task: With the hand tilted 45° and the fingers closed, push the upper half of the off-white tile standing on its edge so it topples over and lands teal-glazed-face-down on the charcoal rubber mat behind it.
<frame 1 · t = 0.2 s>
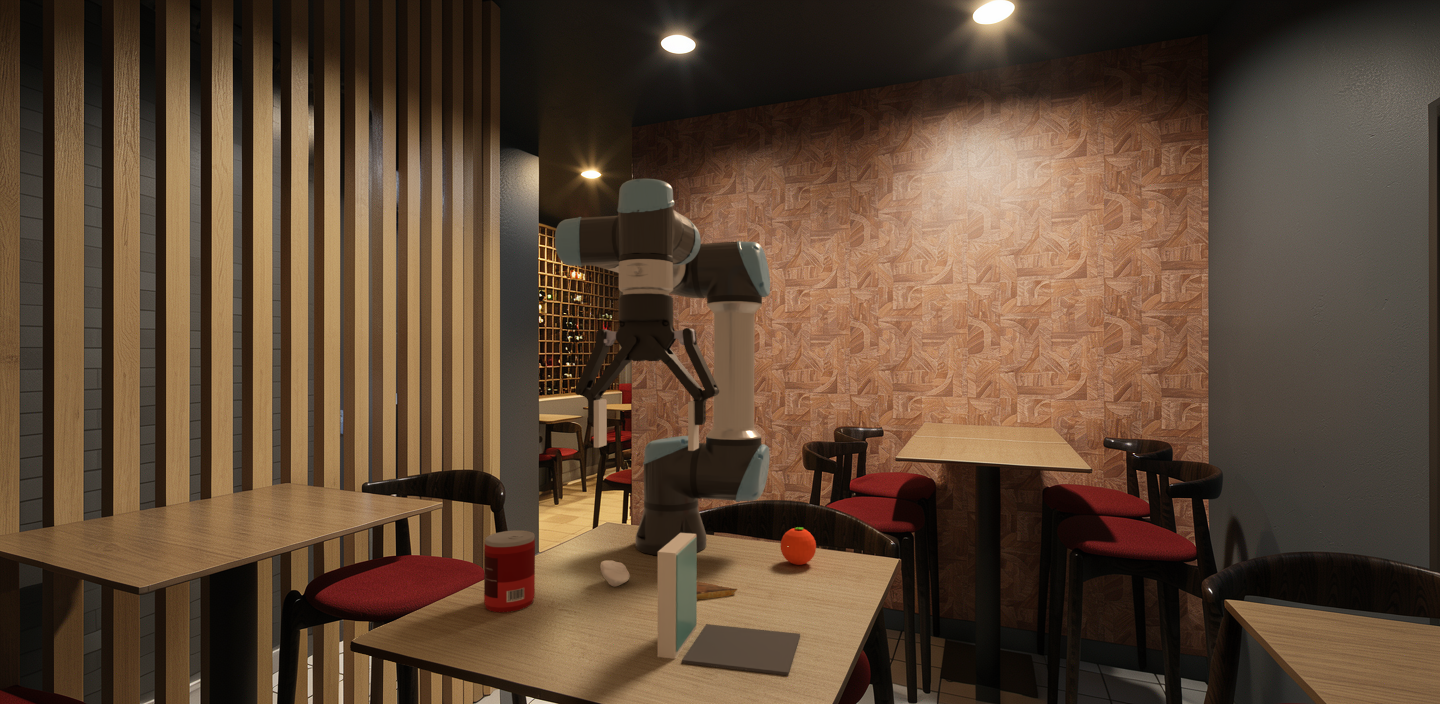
hand: (646, 448, 90), 28 cm above the table, tool pointing down, fingers open, 13 cm apart
glazed tile: (677, 642, 92), on the table
rubber mat: (743, 649, 89), on the table
canned food: (509, 605, 106), on the table
dumpling: (615, 585, 115), on the table
shard: (696, 595, 112), on the table
clementine: (798, 564, 127), on the table
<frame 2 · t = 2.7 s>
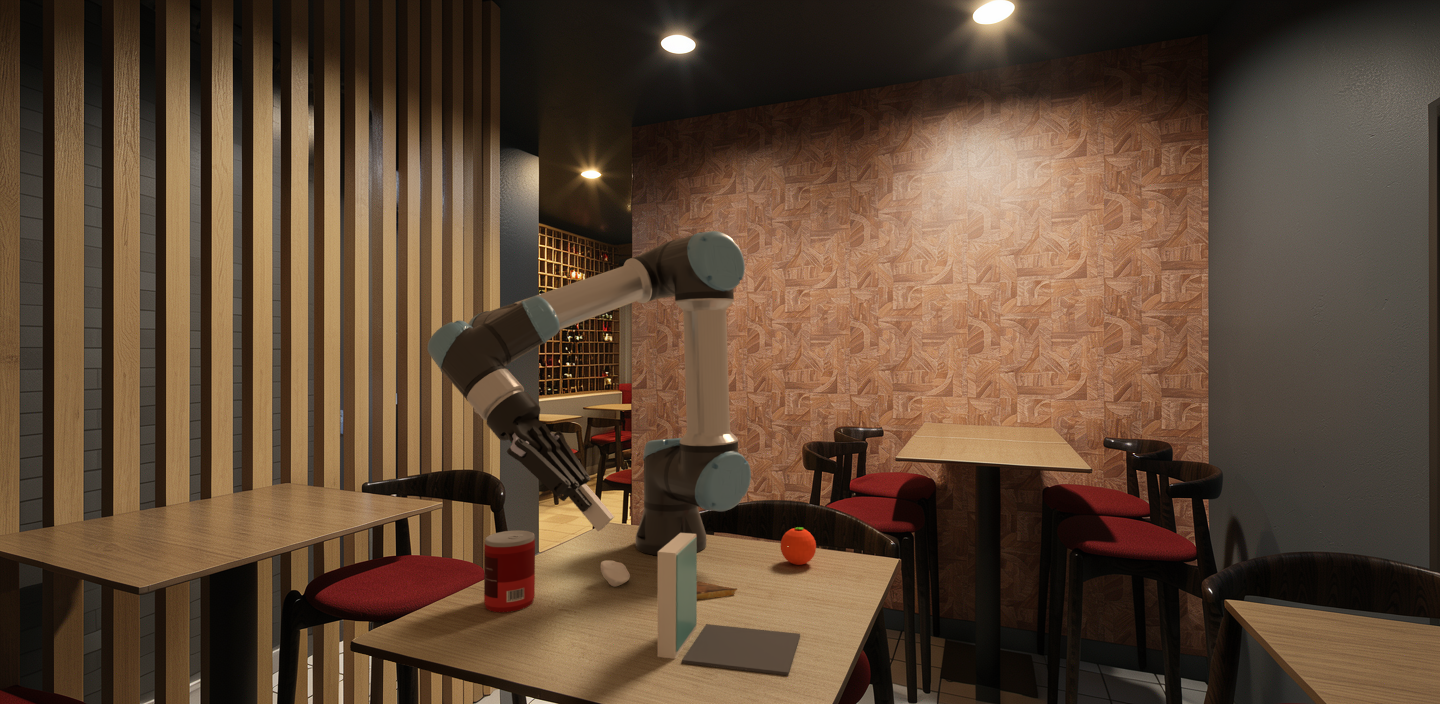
hand: (606, 524, 94), 16 cm above the table, tool tilted 45°, fingers closed
nothing on the table moved.
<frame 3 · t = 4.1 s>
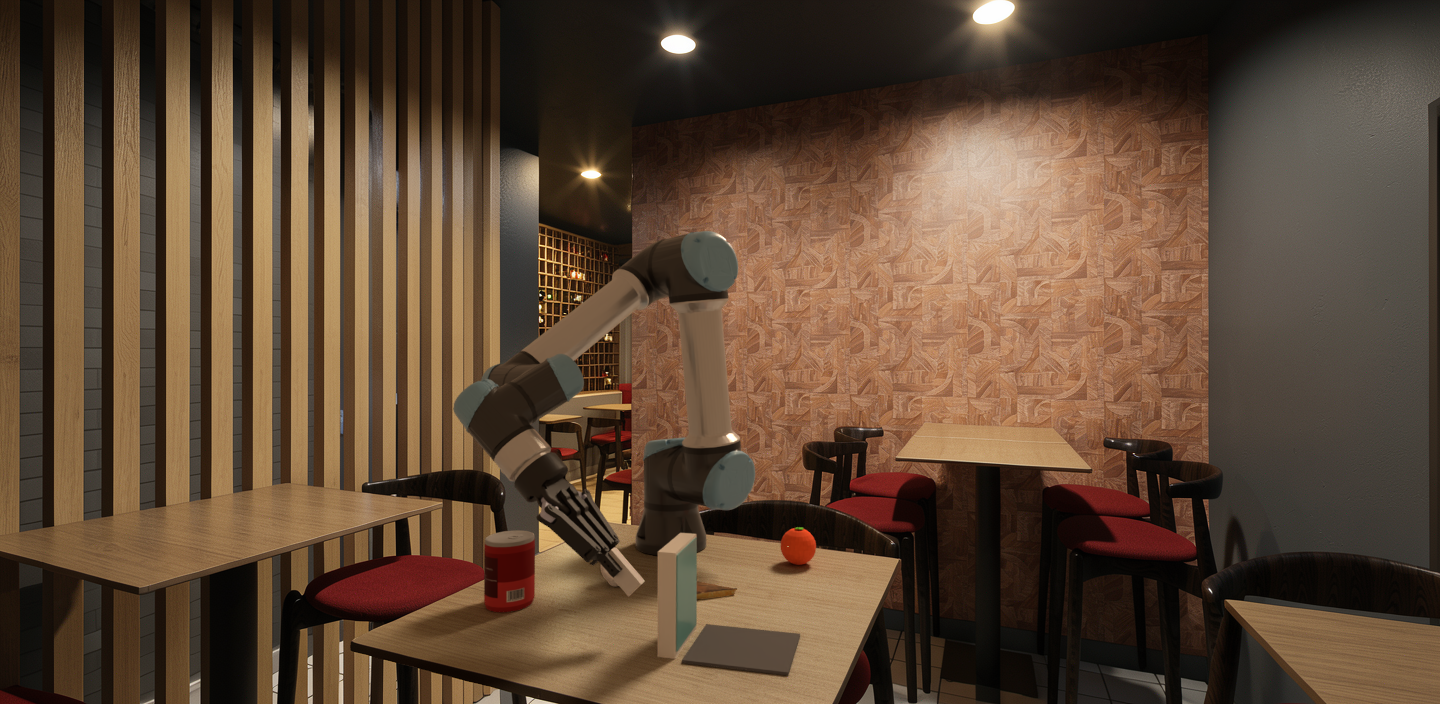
hand: (636, 588, 93), 7 cm above the table, tool tilted 45°, fingers closed
nothing on the table moved.
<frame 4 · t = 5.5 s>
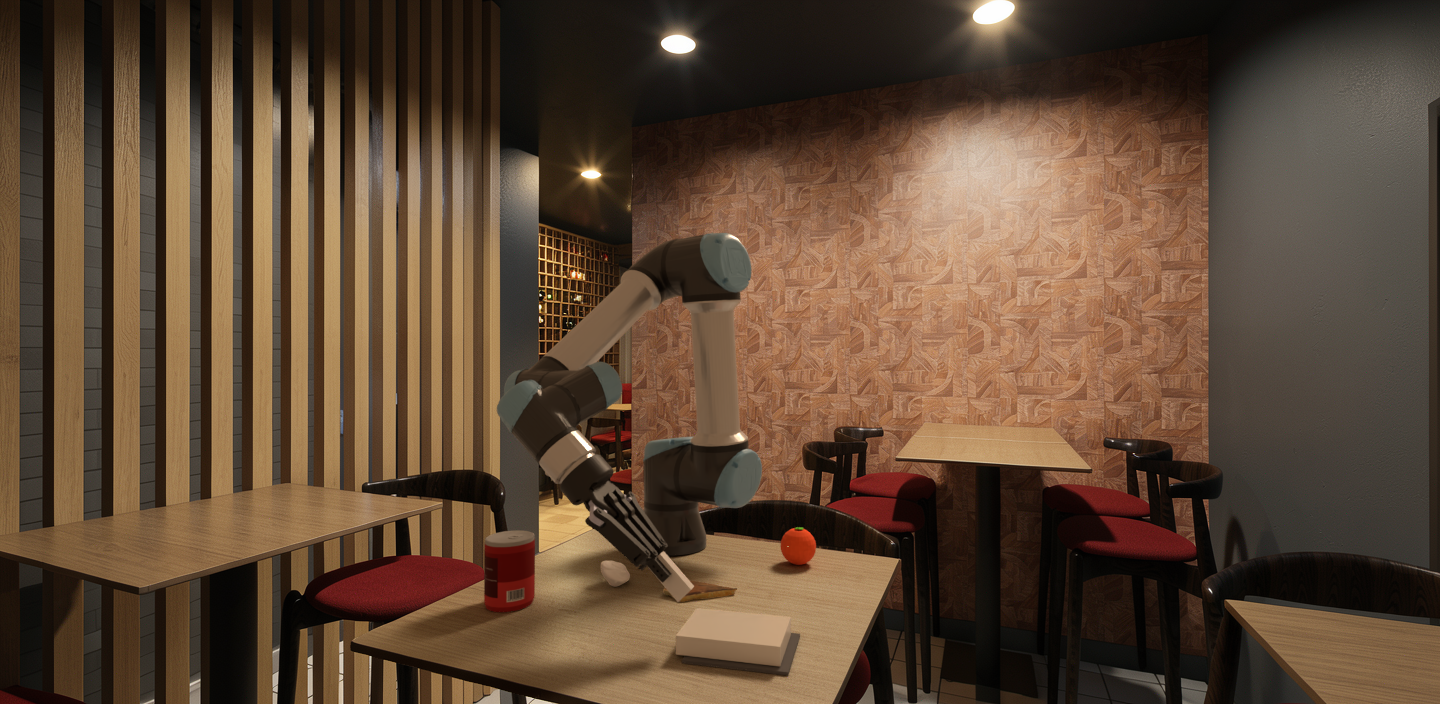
hand: (686, 594, 91), 7 cm above the table, tool tilted 45°, fingers closed
glazed tile: (686, 629, 91), point 2 cm above the table, tilted 90°, touching rubber mat
everything else where it was.
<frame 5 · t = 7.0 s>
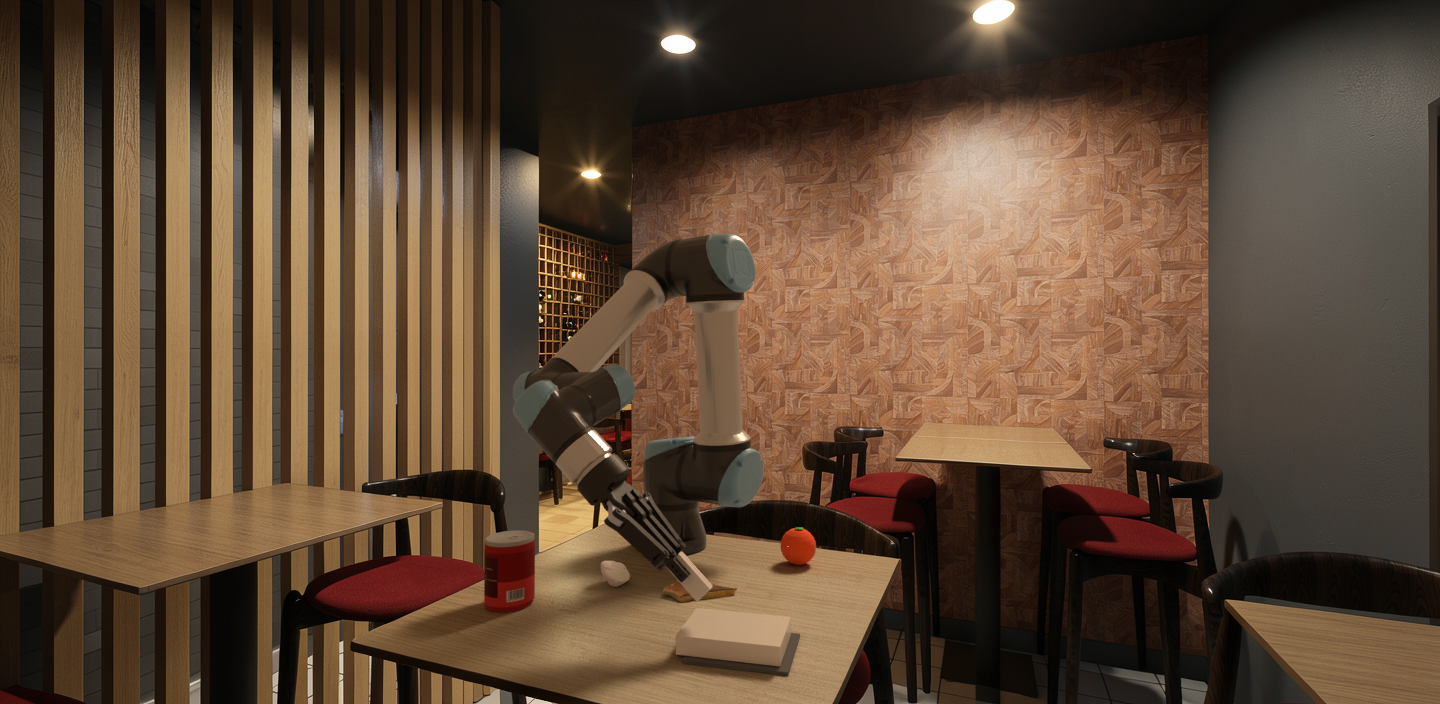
hand: (704, 594, 91), 7 cm above the table, tool tilted 45°, fingers closed
nothing on the table moved.
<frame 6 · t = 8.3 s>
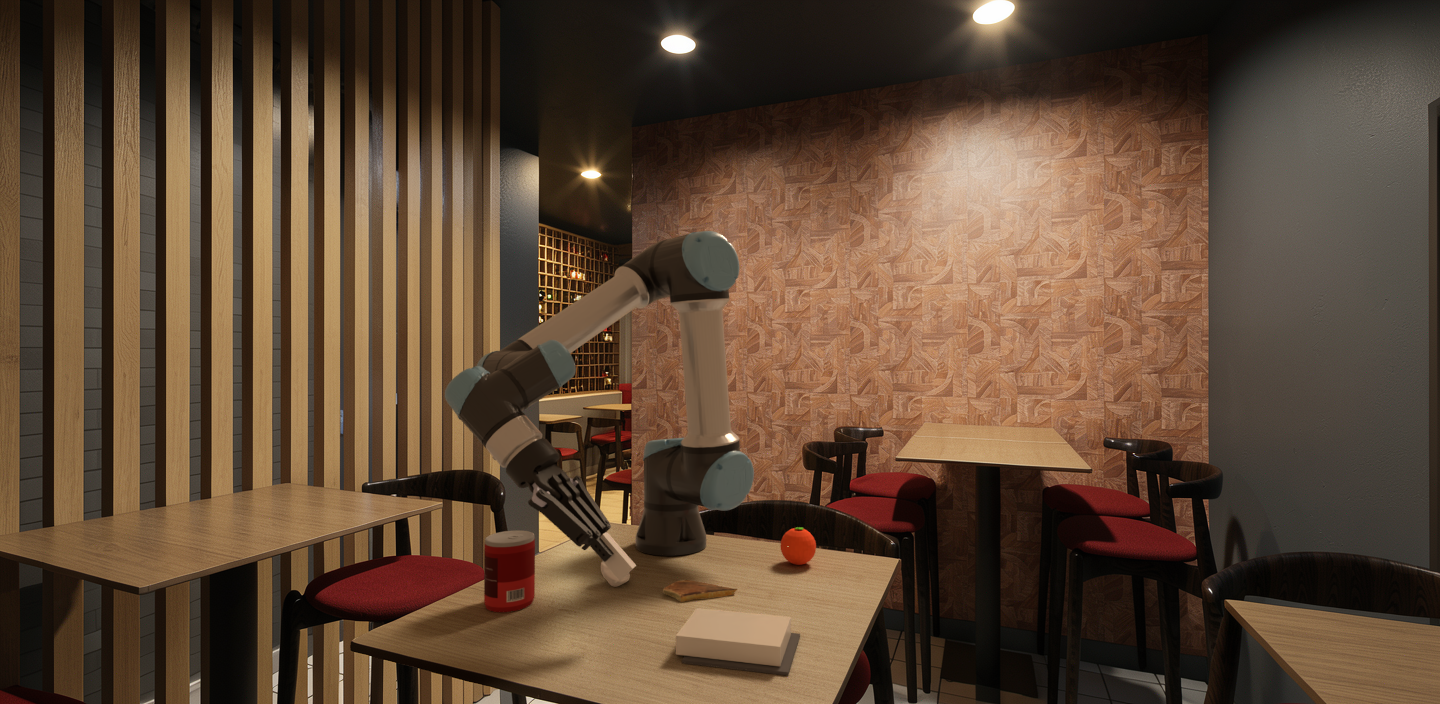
hand: (628, 573, 94), 9 cm above the table, tool tilted 45°, fingers closed
nothing on the table moved.
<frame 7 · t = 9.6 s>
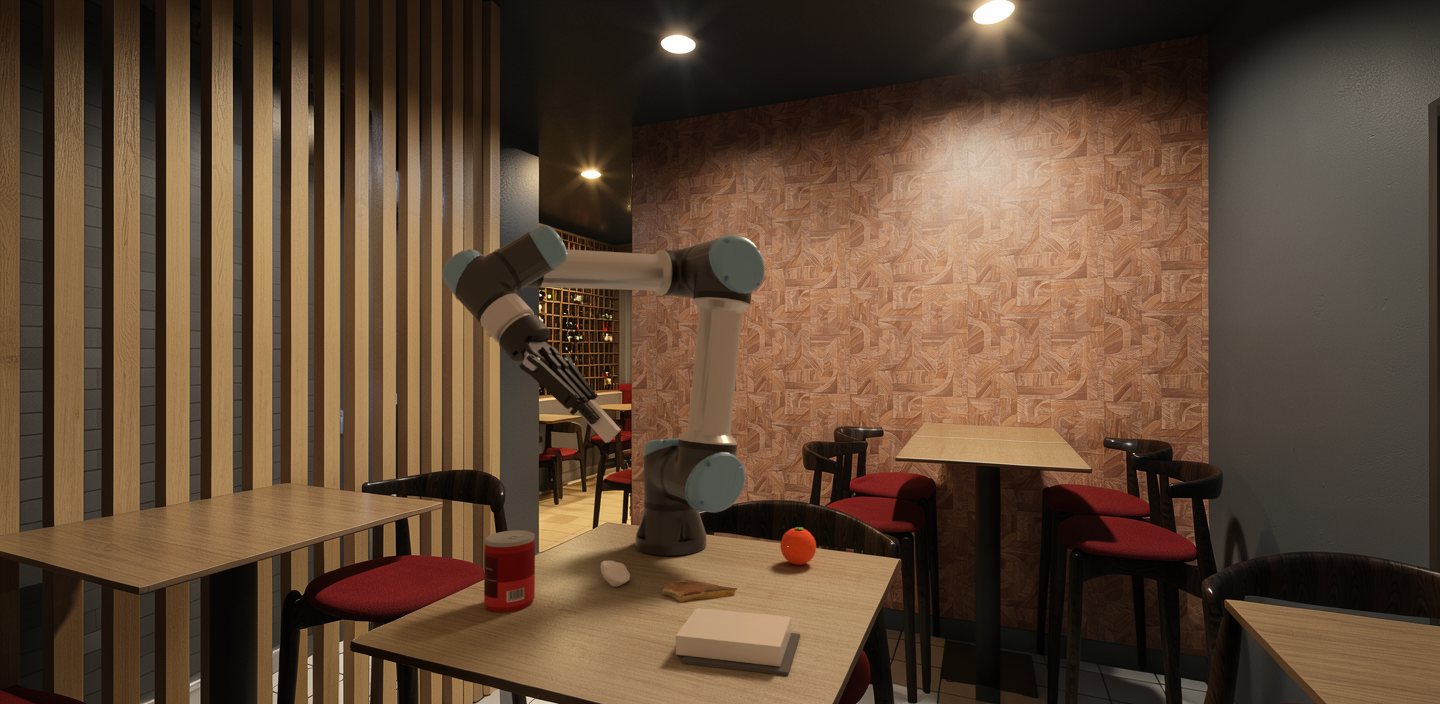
hand: (613, 436, 100), 28 cm above the table, tool tilted 45°, fingers closed
nothing on the table moved.
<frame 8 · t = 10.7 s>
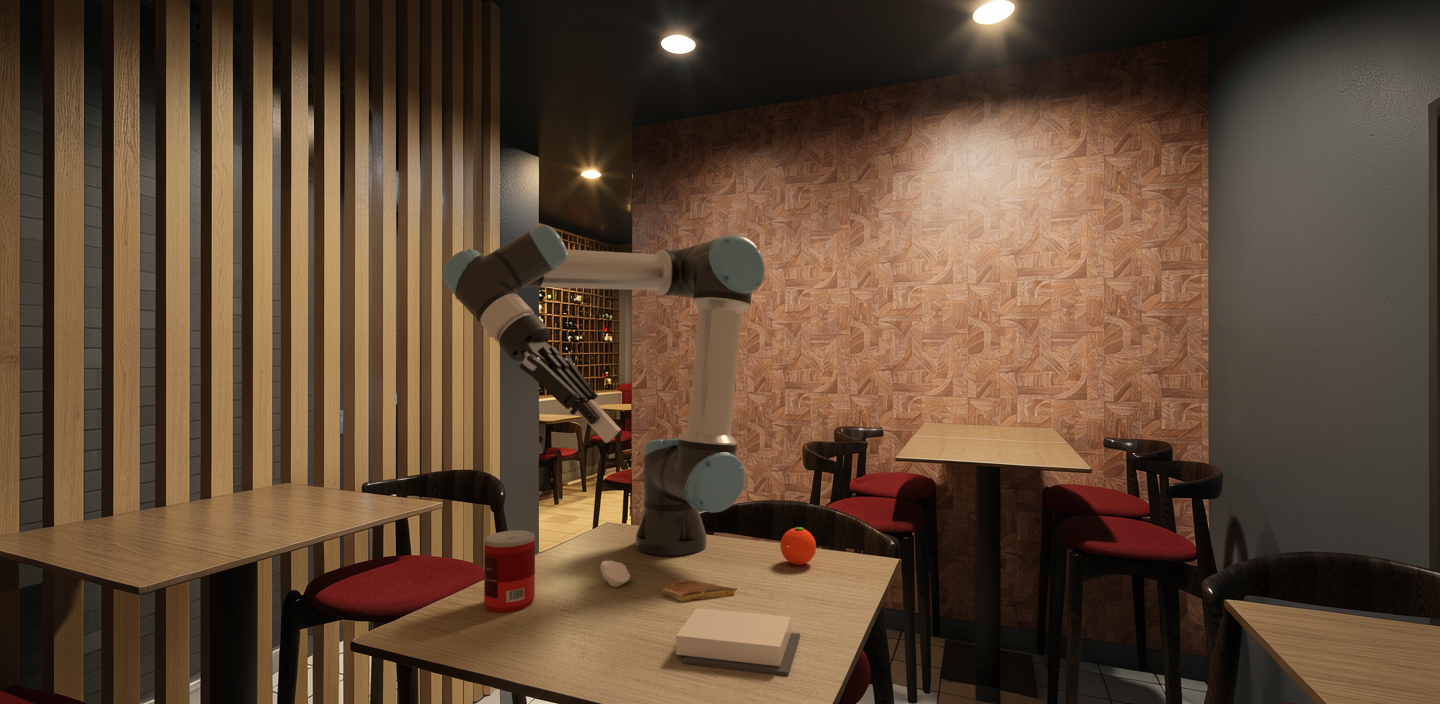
hand: (613, 436, 100), 28 cm above the table, tool tilted 45°, fingers closed
nothing on the table moved.
at the end: glazed tile tilted 90°; glazed tile inside the target area (6.2 cm from its centre), point 1.8 cm above the table; glazed tile touching rubber mat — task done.
